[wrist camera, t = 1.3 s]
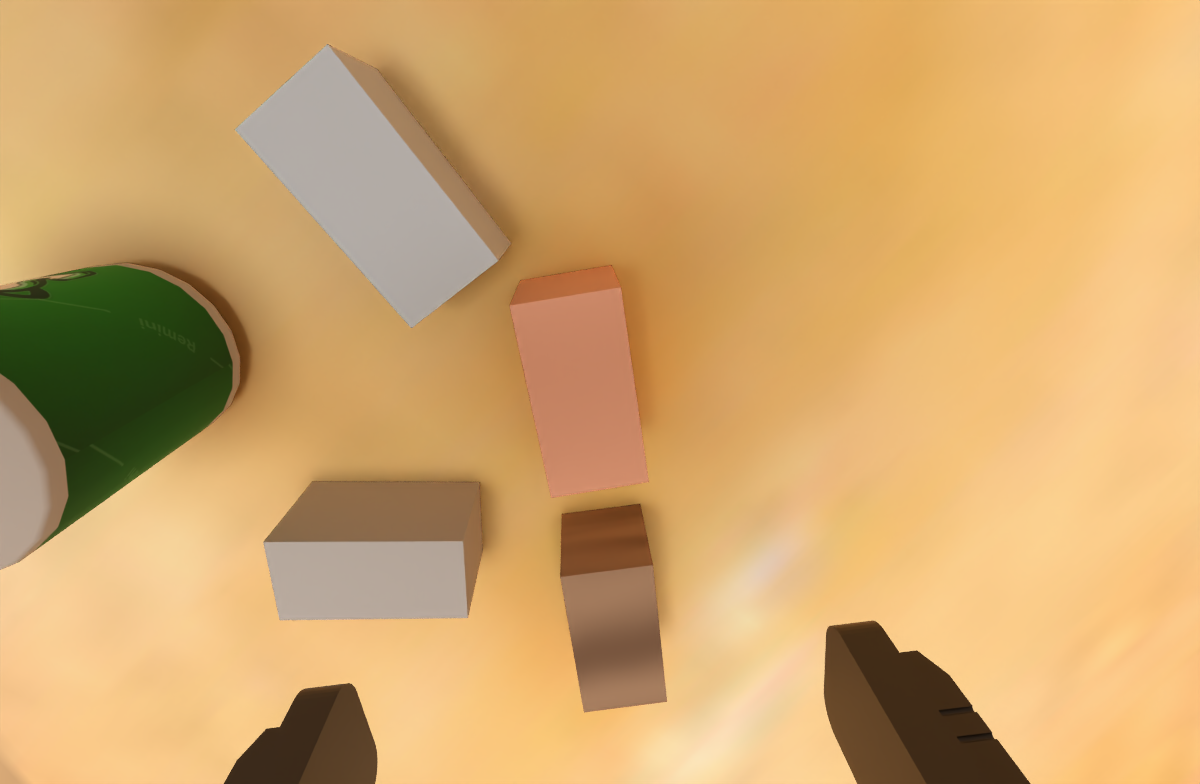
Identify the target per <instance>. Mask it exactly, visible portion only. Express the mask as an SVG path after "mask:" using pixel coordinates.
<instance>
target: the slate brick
mask: <svg viewBox="0 0 1200 784" xmlns="http://www.w3.org/2000/svg"><path fill="white" fill-rule="evenodd" d="M263 543H264V547H265V552H266V557H267V562H268V567H269V571H270V576H271V581H272V586H273V590H274V595H275V600H276V605H277V610H278V614H279V619H280V620H333V619H418V618H468V615H469V610H470V606H471V601H472V597H473V592H474V587H475V583H476V578H477V574H478V569H479V565H480V560H481V556H482V551H483V544H482V523H481V502H480V482H357V481H312V482H311V484H310V485H309V486H308V487H307V489H306V490H305V491H304V492H303V494H302V495H301V496H300V497H299V499H298V500H297V501H296V502H295V504H294V505H293V506H292V507H291V509H290V510H289V511H288V512H287V513H286V515H285V516H284V517H283V518H282V520H281V521H280V522H279V523H278V525H277V526H276V527H275V528H274V530H273V531H272V532H271V533H270V535H269V536H268V537H267V538H266V539H265V541H264V542H263Z"/></svg>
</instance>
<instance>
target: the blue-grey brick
mask: <svg viewBox="0 0 1200 784" xmlns="http://www.w3.org/2000/svg"><path fill="white" fill-rule="evenodd" d="M235 130H236V131H237V133H238V134H239V135H240V136H241V137H242V138H243V139H244V140H245V142H246V143H247V144H248V145H249V146H250V147H251V148H252V149H253V151H254V152H255V153H256V154H257V155H258V156H259V157H260V158H261V160H262V161H263V162H264V163H265V164H266V165H267V166H268V167H269V169H270V170H271V171H272V172H273V173H274V174H275V175H276V176H277V178H278V179H279V180H280V181H281V182H282V183H283V184H284V186H285V187H286V188H287V189H288V190H289V191H290V192H291V193H292V195H293V196H294V197H295V198H296V199H297V200H298V201H299V202H300V204H301V205H302V206H303V207H304V208H305V209H306V210H307V211H308V213H309V214H310V215H311V216H312V217H313V218H314V219H315V220H316V222H317V223H318V224H319V225H320V226H321V227H322V228H323V229H324V231H325V232H326V233H327V234H328V235H329V236H330V237H331V238H332V240H333V241H334V242H335V243H336V244H337V245H338V246H339V247H340V249H341V250H342V251H343V252H344V253H345V254H346V255H347V256H348V258H349V259H350V260H351V261H352V262H353V263H354V264H355V265H356V267H357V268H358V269H359V270H360V271H361V272H362V273H363V274H364V276H365V277H366V278H367V279H368V280H369V281H370V282H371V283H372V285H373V286H374V287H375V288H376V289H377V290H378V291H379V292H380V294H381V295H382V296H383V297H384V298H385V299H386V300H387V301H388V303H389V304H390V305H391V306H392V307H393V308H394V309H395V310H396V312H397V313H398V314H399V315H400V316H401V317H402V318H403V319H404V321H405V322H406V323H407V324H408V325H409V326H410V327H411V328H412V327H414V326H415V325H416V324H418V323H419V322H420V321H421V320H423V319H424V318H425V317H427V316H428V315H429V314H430V313H432V312H433V311H434V310H436V309H437V308H438V307H439V306H441V305H442V304H443V303H445V302H446V301H447V300H449V299H450V298H451V297H452V296H454V295H455V294H456V293H458V292H459V291H460V290H461V289H463V288H464V287H465V286H467V285H468V284H469V283H470V282H472V281H473V280H474V279H476V278H477V277H478V276H479V275H481V274H482V273H483V272H485V271H486V270H487V269H488V268H490V267H491V266H492V265H494V264H495V263H496V262H497V261H499V259H500V258H501V257H502V255H503V254H504V253H505V251H506V250H507V248H508V247H509V246H510V244H511V242H510V241H509V240H508V238H507V237H506V236H505V234H504V233H503V232H502V231H501V229H500V228H499V227H498V225H497V224H496V223H495V222H494V220H493V219H492V218H491V216H490V215H489V214H488V212H487V211H486V210H485V209H484V207H483V206H482V205H481V203H480V202H479V201H478V199H477V198H476V197H475V196H474V194H473V193H472V192H471V190H470V189H469V188H468V187H467V185H466V184H465V183H464V181H463V180H462V179H461V177H460V176H459V175H458V174H457V172H456V171H455V170H454V168H453V167H452V166H451V164H450V163H449V162H448V161H447V159H446V158H445V157H444V155H443V154H442V153H441V152H440V150H439V149H438V148H437V146H436V145H435V144H434V142H433V141H432V140H431V139H430V137H429V136H428V135H427V133H426V132H425V131H424V129H423V128H422V127H421V126H420V124H419V123H418V122H417V120H416V119H415V118H414V117H413V115H412V114H411V113H410V111H409V110H408V109H407V107H406V106H405V105H404V104H403V102H402V101H401V100H400V98H399V97H398V96H397V94H396V93H395V92H394V91H393V89H392V88H391V87H390V85H389V84H388V83H387V82H386V80H385V79H384V78H383V76H382V75H381V74H380V72H379V71H378V70H377V69H376V68H374V67H372V66H370V65H368V64H366V63H364V62H362V61H360V60H358V59H356V58H354V57H352V56H350V55H348V54H346V53H344V52H342V51H340V50H338V49H336V48H334V47H332V46H330V45H328V44H327V45H326V46H325V47H324V48H323V49H322V50H321V51H319V52H318V53H317V54H316V55H315V56H314V57H313V58H312V59H311V60H310V61H309V62H307V63H306V64H305V65H304V66H303V67H302V68H301V69H300V70H299V71H298V72H297V73H296V74H294V75H293V76H292V77H291V78H290V79H289V80H288V81H287V82H286V83H285V84H284V85H282V86H281V87H280V88H279V89H278V90H277V91H276V92H275V93H274V94H273V95H272V96H271V97H269V98H268V99H267V100H266V101H265V102H264V103H263V104H262V105H261V106H260V107H259V108H257V109H256V110H255V111H254V112H253V113H252V114H251V115H250V116H249V117H248V118H247V119H246V120H244V121H243V122H242V123H241V124H240V125H239V126H238V127H237V128H236V129H235Z"/></svg>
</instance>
